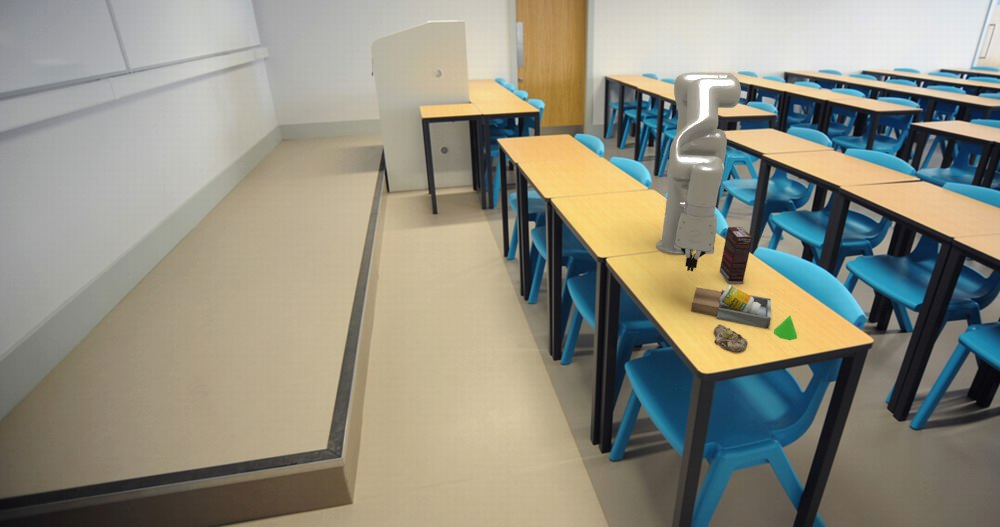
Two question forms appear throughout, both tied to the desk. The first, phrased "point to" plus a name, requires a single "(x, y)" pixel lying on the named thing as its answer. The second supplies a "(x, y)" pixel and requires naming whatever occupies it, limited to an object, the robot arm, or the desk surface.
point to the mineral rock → (729, 339)
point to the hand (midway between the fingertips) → (690, 269)
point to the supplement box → (735, 255)
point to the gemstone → (786, 330)
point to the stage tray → (730, 308)
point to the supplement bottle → (739, 300)
